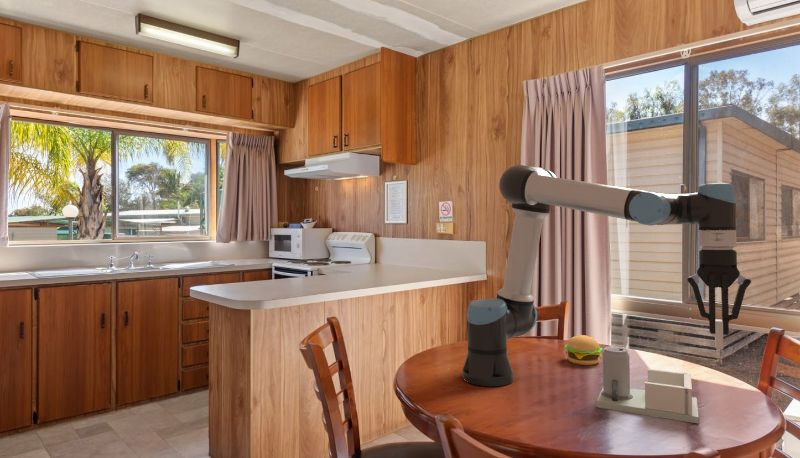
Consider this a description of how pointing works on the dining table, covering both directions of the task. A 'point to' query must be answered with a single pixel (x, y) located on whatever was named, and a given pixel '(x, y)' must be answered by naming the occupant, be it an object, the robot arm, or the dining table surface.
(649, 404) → the housing
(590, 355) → the hamburger
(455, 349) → the dining table surface
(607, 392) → the beverage can
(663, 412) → the board
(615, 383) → the pins
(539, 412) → the dining table surface
